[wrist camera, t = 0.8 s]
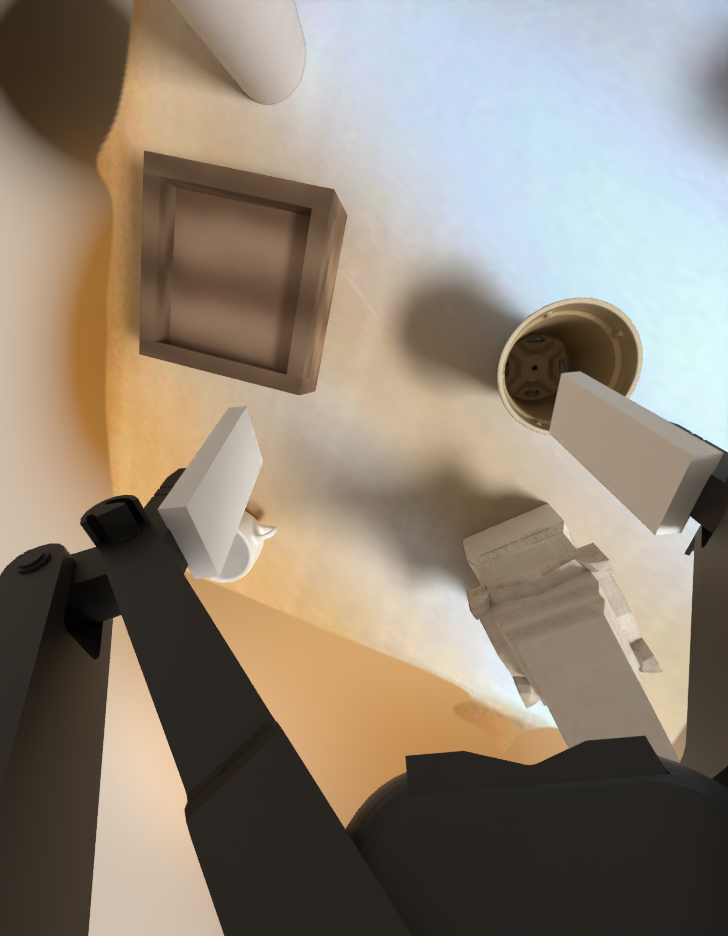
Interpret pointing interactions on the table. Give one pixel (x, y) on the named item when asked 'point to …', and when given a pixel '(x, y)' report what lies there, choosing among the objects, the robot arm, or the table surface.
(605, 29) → the table surface
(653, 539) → the table surface
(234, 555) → the teacup
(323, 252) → the walnut stand
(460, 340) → the table surface
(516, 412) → the flower pot
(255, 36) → the coffee cup
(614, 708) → the miniature monument
